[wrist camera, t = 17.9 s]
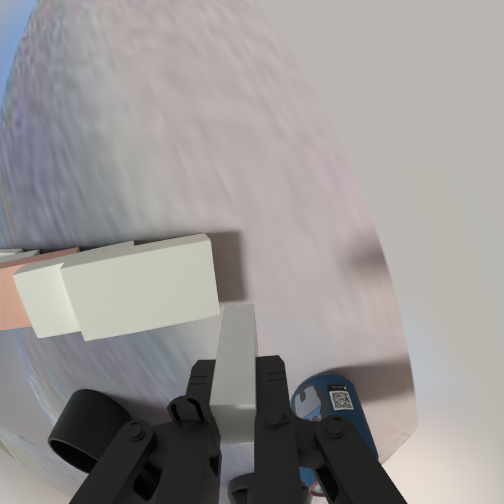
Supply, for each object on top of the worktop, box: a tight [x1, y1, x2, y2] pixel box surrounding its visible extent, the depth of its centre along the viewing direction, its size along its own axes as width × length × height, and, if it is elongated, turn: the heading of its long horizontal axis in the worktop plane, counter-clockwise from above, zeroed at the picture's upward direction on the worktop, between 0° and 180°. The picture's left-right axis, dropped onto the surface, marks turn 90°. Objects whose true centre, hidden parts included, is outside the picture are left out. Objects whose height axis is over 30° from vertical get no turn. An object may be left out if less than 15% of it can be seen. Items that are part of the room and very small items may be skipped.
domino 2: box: [13, 240, 135, 338], centre depth 20 cm, size 2×6×11 cm
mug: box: [48, 390, 132, 474], centre depth 25 cm, size 9×12×9 cm
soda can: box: [291, 373, 378, 497], centre depth 21 cm, size 7×7×12 cm
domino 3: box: [60, 233, 220, 341], centre depth 20 cm, size 2×6×11 cm
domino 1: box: [0, 247, 80, 330], centre depth 20 cm, size 2×6×11 cm
